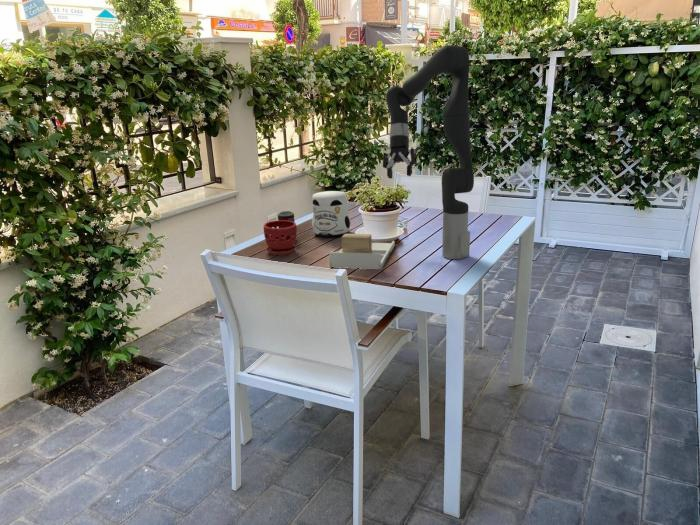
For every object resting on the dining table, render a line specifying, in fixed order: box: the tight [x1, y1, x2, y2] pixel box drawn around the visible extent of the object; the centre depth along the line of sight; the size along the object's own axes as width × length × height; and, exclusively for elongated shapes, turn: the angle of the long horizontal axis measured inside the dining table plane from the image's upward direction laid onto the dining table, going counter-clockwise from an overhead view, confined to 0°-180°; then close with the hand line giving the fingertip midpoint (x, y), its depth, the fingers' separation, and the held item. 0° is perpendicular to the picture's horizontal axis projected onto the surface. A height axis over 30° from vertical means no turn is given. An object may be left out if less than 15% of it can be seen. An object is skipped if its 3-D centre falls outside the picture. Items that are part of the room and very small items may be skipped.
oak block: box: [341, 233, 373, 253], centre depth 197 cm, size 5×10×10 cm, turn 76°
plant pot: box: [263, 219, 298, 256], centre depth 217 cm, size 13×13×12 cm
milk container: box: [311, 190, 352, 238], centre depth 239 cm, size 17×17×18 cm
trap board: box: [328, 240, 396, 271], centre depth 208 cm, size 30×19×6 cm, turn 166°
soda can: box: [277, 210, 296, 228], centre depth 233 cm, size 7×7×12 cm
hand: (399, 177), depth 214 cm, fingers open, 8 cm apart
